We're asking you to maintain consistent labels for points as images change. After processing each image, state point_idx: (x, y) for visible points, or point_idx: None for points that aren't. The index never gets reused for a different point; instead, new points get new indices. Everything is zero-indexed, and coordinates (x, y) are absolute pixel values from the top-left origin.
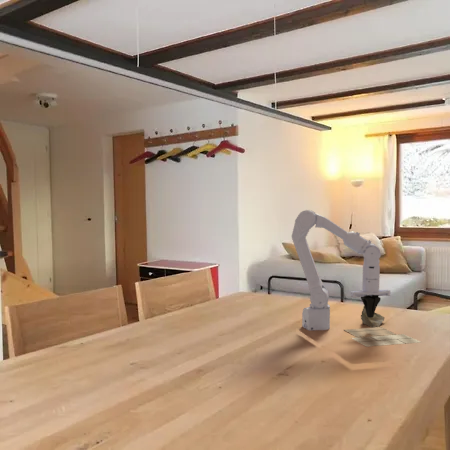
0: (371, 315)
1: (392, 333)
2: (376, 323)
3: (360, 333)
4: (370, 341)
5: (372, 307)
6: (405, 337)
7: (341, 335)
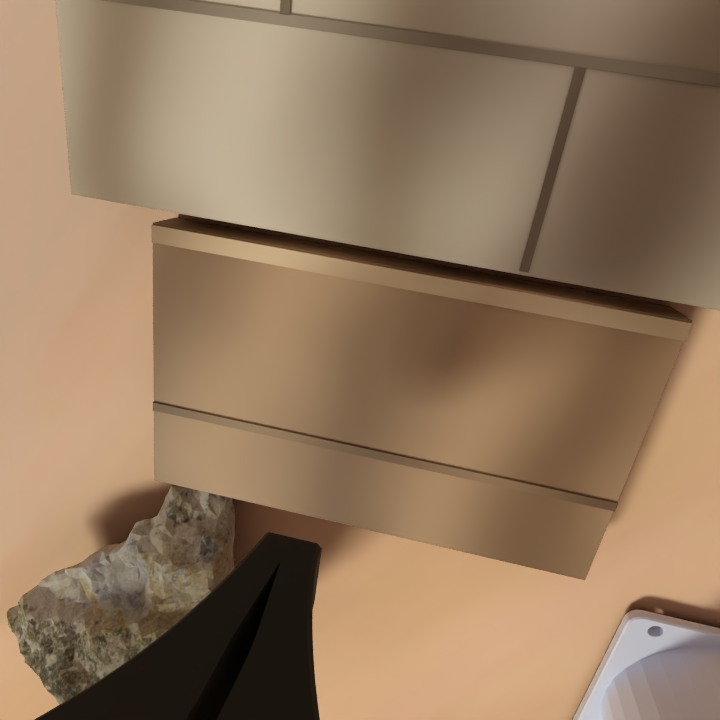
0: (294, 555)
1: (175, 266)
2: (158, 553)
3: (524, 413)
4: (717, 61)
5: (225, 672)
6: (124, 50)
7: (625, 530)
